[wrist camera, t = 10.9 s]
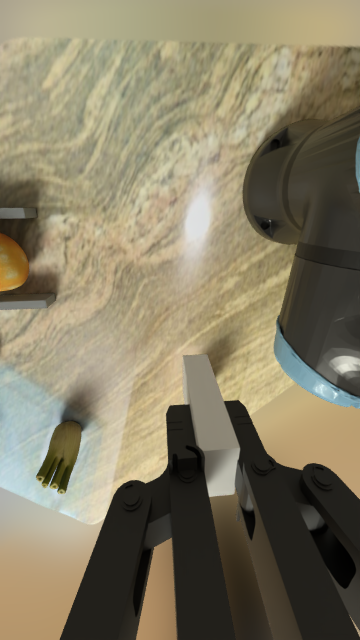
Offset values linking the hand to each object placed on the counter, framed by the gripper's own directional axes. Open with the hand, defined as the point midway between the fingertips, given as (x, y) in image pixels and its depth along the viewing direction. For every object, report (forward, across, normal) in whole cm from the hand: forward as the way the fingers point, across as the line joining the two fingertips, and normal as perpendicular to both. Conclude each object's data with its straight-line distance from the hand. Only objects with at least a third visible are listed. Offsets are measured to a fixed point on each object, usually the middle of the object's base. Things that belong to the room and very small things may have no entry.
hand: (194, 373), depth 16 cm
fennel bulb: (+27, +21, +31) cm, 46 cm away
